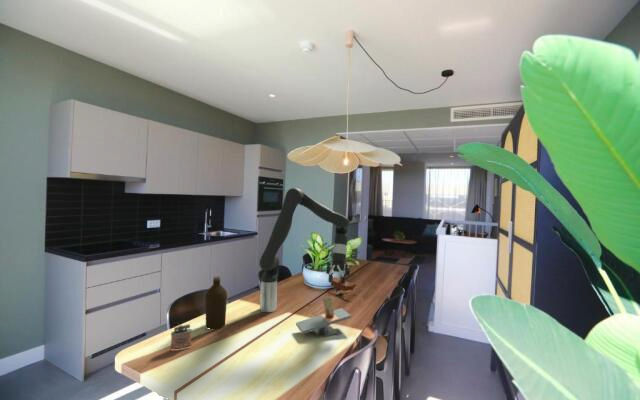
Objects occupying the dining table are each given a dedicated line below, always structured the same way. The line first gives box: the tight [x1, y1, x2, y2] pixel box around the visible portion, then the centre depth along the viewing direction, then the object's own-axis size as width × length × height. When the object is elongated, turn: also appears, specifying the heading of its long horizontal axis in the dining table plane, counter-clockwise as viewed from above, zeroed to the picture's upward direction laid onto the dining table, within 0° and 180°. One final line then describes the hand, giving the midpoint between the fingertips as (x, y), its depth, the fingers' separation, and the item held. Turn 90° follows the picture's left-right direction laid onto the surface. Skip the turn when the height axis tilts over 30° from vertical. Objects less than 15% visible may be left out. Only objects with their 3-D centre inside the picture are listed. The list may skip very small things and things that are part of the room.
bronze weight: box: [323, 297, 335, 319], centre depth 144 cm, size 4×4×9 cm
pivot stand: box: [312, 325, 338, 339], centre depth 143 cm, size 10×12×5 cm
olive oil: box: [204, 275, 228, 330], centre depth 146 cm, size 11×11×25 cm
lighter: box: [170, 324, 193, 350], centre depth 124 cm, size 8×3×10 cm, turn 117°
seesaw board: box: [295, 307, 352, 335], centre depth 143 cm, size 26×10×1 cm, turn 113°
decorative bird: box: [330, 276, 357, 296], centre depth 202 cm, size 28×18×15 cm, turn 35°
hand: (336, 283), depth 152 cm, fingers open, 8 cm apart
